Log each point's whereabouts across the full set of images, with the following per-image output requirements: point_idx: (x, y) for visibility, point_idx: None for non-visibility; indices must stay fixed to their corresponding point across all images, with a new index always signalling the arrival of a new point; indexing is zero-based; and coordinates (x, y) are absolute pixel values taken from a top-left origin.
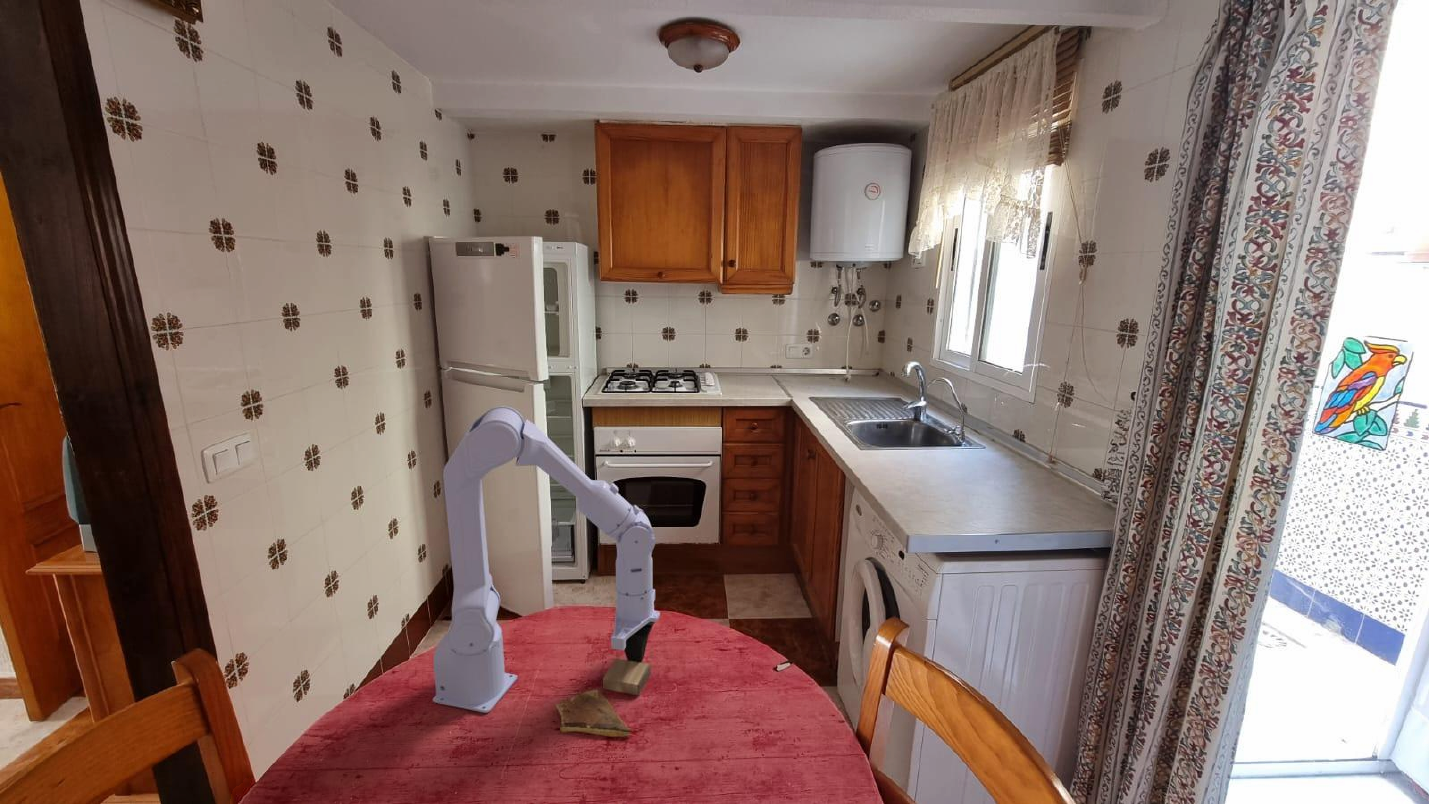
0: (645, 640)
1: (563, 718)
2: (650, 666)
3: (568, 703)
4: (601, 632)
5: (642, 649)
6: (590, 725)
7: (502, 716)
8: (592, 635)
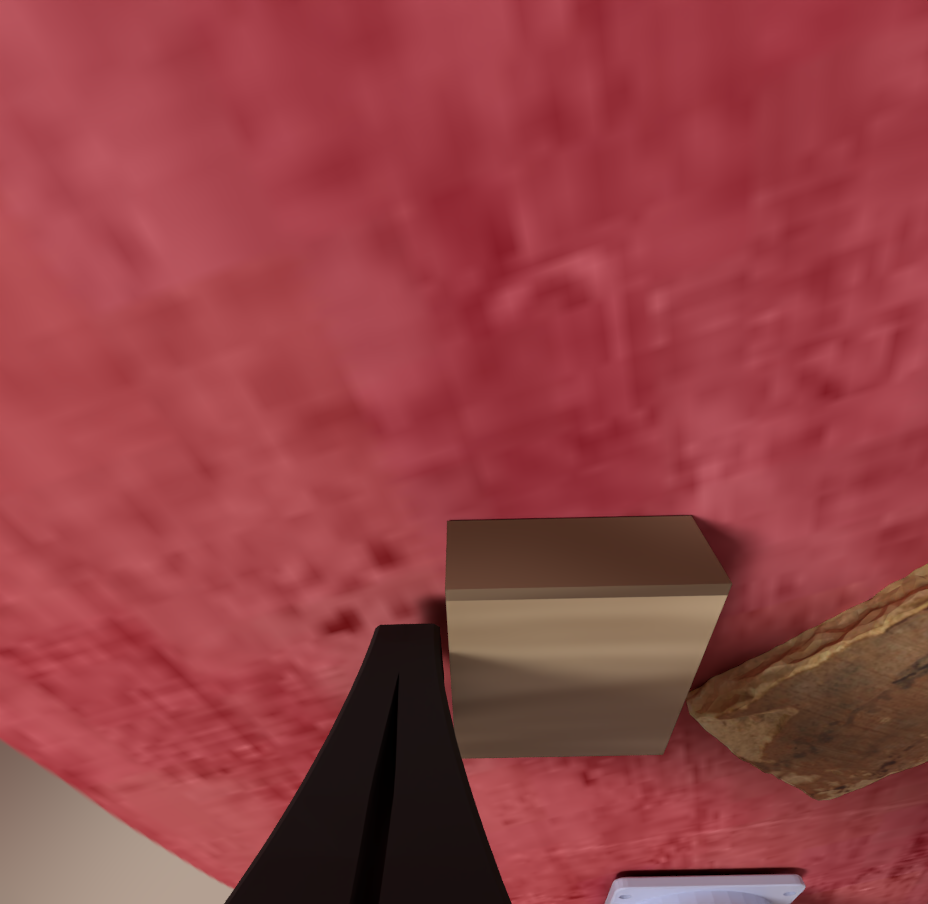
0: (397, 890)
1: (925, 759)
2: (447, 573)
3: (832, 780)
4: (220, 795)
5: (453, 786)
6: None
7: (812, 845)
8: (264, 810)
